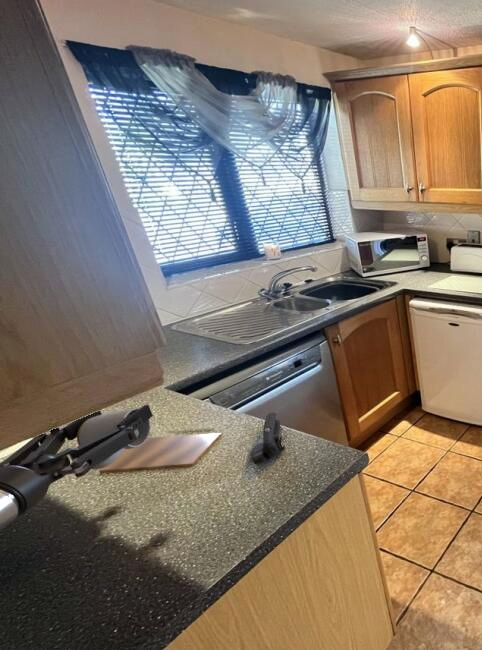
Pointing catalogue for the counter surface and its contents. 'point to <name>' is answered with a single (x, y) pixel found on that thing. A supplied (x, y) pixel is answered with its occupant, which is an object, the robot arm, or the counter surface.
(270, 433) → the can opener
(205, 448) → the oak board
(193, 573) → the counter surface
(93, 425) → the ceramic mug
